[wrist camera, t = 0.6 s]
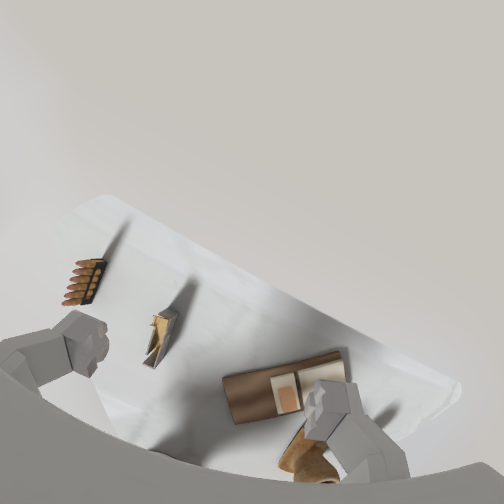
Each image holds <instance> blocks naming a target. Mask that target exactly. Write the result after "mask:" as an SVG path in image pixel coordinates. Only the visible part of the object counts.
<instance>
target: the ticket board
mask: <svg viewBox="0 0 504 504" xmlns="http://www.w3.org/2000/svg"><path fill="white" fill-rule="evenodd" d="M289 373H293V374H294V377H295V382H296V388H297V393H298V398H299V404H300V409H298V410H294V411H290V412H286V413H282V414H278V412H277V407H276V403H275V398H274V394H273V389H272V385H271V380H270V378H272V377H276V376H281V375H285V374H289ZM317 379H324V380H332V381H340V382H346V380H345V372H344V364H343V360H342V359H341V357H340V352H339V351H335V352H332V353H329V354H325V355H322V356H318V357H314V358H311V359H307V360H303V361H299V362H295V363H291V364H287V365H283V366H279V367H274V368H270V369H265V370H260V371H256V372H251V373H246V374H240V375H235V376H230V377H224V378H223V379H222V381H223V385H224V389H225V392H226V396H227V399H228V403H229V406H230V410H231V413H232V417H233V420H234V423H235V425H237V424H243V423H248V422H254V421H259V420H264V419H269V418H274V417H278V416H283V415H287V414H291V413H295V412H299V411H303V410H304V408H305V403H306V399H307V397H308V395H309V393H311V392H312V391H314V386H313V385H314V384H315V382H316V380H317Z"/></svg>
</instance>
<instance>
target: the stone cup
mask: <svg viewBox="0 0 504 504" xmlns="http://www.w3.org/2000/svg"><path fill="white" fill-rule="evenodd" d="M327 447H328V445H327V443H326V441H321V440H312V439H305V428H304V427H303V428H302V429H301V430H300V431H299V433H298V434H297V435H296V437H295V438H294V440H293V441H292V442H291V444H290V445H289V447H288V448H287V450H286V451H285V453H284V454H283V456H282V457H281V459H280V461H279V464H278V467H279V468H280V469H282V470H284V471H287V472H291V473H294V482H301V483H324V484H338V483H339V482H340V478H339V475H338V472H337V470H336V469H335V468H334V466H332V465H331V464H330V463H329V462H328V461H327V460H326V459H325V458H324V457H323V453H324V452H325V450H326V448H327Z"/></svg>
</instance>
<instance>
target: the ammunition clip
mask: <svg viewBox="0 0 504 504" xmlns="http://www.w3.org/2000/svg"><path fill="white" fill-rule="evenodd" d="M75 264H76V265H77V266H80V267H83V268H79V269H75V270H73V271H72V272H73V273H74V274H77V275H79V276H76V277H72V278H70V281H71V282H75V283H76V282H77V283H76V284H72V285H69V286H68V287H67V289H68V290H75V291H73V292H69V293H67V294H65V295H64V297H65V298H71V299H69V300H66V301H64V302H62V305H63V306H71V305H72V306H75V305H79V304H80V305H86V304H91V303H92V301H93V298H94V295H95V293H96V290H97V287H98V285H99V282H100V280H101V277H102V275H103V272H104V270H105V267H106V265H107V262H106V261H105V260H103V259H90V260H83V261H77V262H76V263H75Z"/></svg>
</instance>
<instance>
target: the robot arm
mask: <svg viewBox="0 0 504 504" xmlns="http://www.w3.org/2000/svg"><path fill="white" fill-rule="evenodd" d="M107 331H108V330H107V324H106V323H105V322H103V321H100V320H98V319H96V318H93V317H91V316H89V315H87V314H84V313H82V312H79V311H77V310H73V311H71V312H70V313H69V314H68V315H67V316H66V317H65V318H64V319H63V320H62V321H60V322H59V323H58V324H57V325H56V326H55V327H54V328H53V329H52V330H50V329H45V330H41V331H37V332H33V333H29V334H25V335H21V336H16V337H13V338H8V339H4V340H3V341H1V342H0V504H504V477H503V476H502V475H501V474H499V473H498V472H496V470H494V469H493V468H491V467H490V466H489V465H487V464H485V463H482V462H478V463H474V464H470V465H467V466H464V467H460V468H456V469H452V470H448V471H444V472H440V473H435V474H430V475H425V476H419V477H414V478H411V477H410V473H409V469H408V464H407V460H406V456H405V452H404V451H403V450H402V449H401V448H400V447H399V446H398V445H397V444H396V443H395V442H394V441H393V440H392V439H391V438H390V437H389V436H388V435H387V434H386V433H385V432H384V431H383V430H382V429H381V428H380V427H379V426H378V425H377V424H376V423H375V422H374V421H373V420H372V419H371V418H370V417H369V416H368V415H364V413H363V408H362V404H361V399H360V395H359V391H358V387H357V384H356V383H351V382H340V381H332V380H324V379H317V380H316V382H315V384H314V385H313V386H314V391H312V392H311V393H309V395H308V397H307V399H306V403H305V408H304V416H305V417H306V419H307V421H306V423H305V425H304V428H305V439H312V440H321V441H326V443H327V445H328V446H329V448H330V449H331V451H332V452H333V454H334V455H335V457H336V458H337V460H338V461H339V463H340V464H341V466H342V467H343V469H344V470H345V472H346V473H347V474H348V475H347V476H346V477H345V478H344V479H343V480H341V481H340V482H339V483H338V484H324V483H301V482H288V481H278V480H269V479H262V478H255V477H248V476H242V475H237V474H232V473H227V472H222V471H217V470H213V469H209V468H205V467H201V466H197V465H193V464H189V463H186V462H183V461H179V460H176V459H174V458H172V457H170V456H168V455H166V454H163V453H160V452H154V451H149V450H146V449H144V448H141V447H138V446H136V445H133V444H131V443H128V442H126V441H123V440H121V439H119V438H116V437H114V436H112V435H109V434H107V433H105V432H103V431H101V430H99V429H97V428H95V427H93V426H91V425H89V424H87V423H85V422H83V421H81V420H79V419H77V418H75V417H73V416H72V415H70V414H68V413H67V412H65V411H63V410H61V409H59V408H58V407H56V406H55V405H53V404H51V403H50V402H48V401H47V400H45V399H43V398H42V395H41V393H40V391H39V389H38V387H40V386H42V385H44V384H46V383H48V382H51V381H53V380H55V379H57V378H59V377H61V376H64V375H66V374H68V373H70V372H72V370H73V371H75V372H77V373H79V374H82V375H84V376H86V377H88V378H90V377H91V376H92V374H93V373H94V372H95V370H96V369H97V363H98V362H101V361H103V360H104V358H105V357H106V355H107V353H108V350H109V339H108V338H107V336H106V335H105V333H106V332H107Z"/></svg>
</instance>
